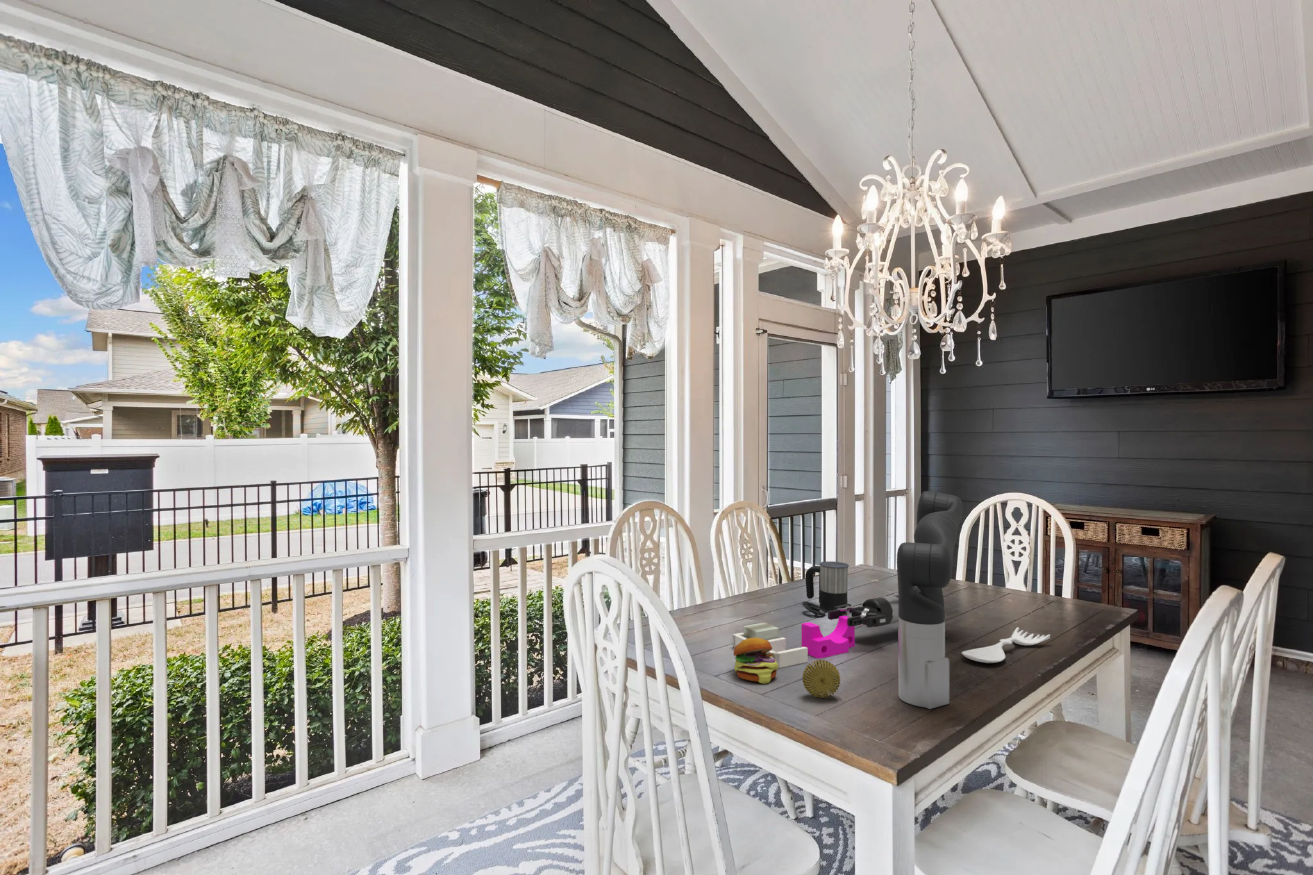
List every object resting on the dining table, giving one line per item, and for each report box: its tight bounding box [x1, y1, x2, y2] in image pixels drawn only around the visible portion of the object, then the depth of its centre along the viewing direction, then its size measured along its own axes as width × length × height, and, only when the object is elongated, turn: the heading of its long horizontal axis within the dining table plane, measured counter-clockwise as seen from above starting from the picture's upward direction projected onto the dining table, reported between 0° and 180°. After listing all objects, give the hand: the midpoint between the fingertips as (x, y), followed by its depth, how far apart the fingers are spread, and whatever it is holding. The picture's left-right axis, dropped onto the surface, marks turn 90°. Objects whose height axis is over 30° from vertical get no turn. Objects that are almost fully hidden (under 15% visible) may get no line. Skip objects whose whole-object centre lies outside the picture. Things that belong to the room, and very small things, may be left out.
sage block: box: [743, 622, 780, 640], centre depth 172 cm, size 6×7×6 cm
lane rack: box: [732, 632, 809, 669], centre depth 168 cm, size 18×10×4 cm, turn 28°
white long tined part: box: [961, 626, 1051, 664], centre depth 169 cm, size 9×32×4 cm, turn 126°
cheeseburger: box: [733, 637, 779, 685], centre depth 154 cm, size 10×11×10 cm
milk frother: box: [802, 560, 850, 617], centre depth 208 cm, size 14×16×15 cm
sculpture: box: [802, 659, 841, 699], centre depth 141 cm, size 8×4×8 cm, turn 88°
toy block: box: [801, 616, 856, 660], centre depth 171 cm, size 15×6×8 cm, turn 118°
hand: (838, 618), depth 174 cm, fingers open, 6 cm apart
